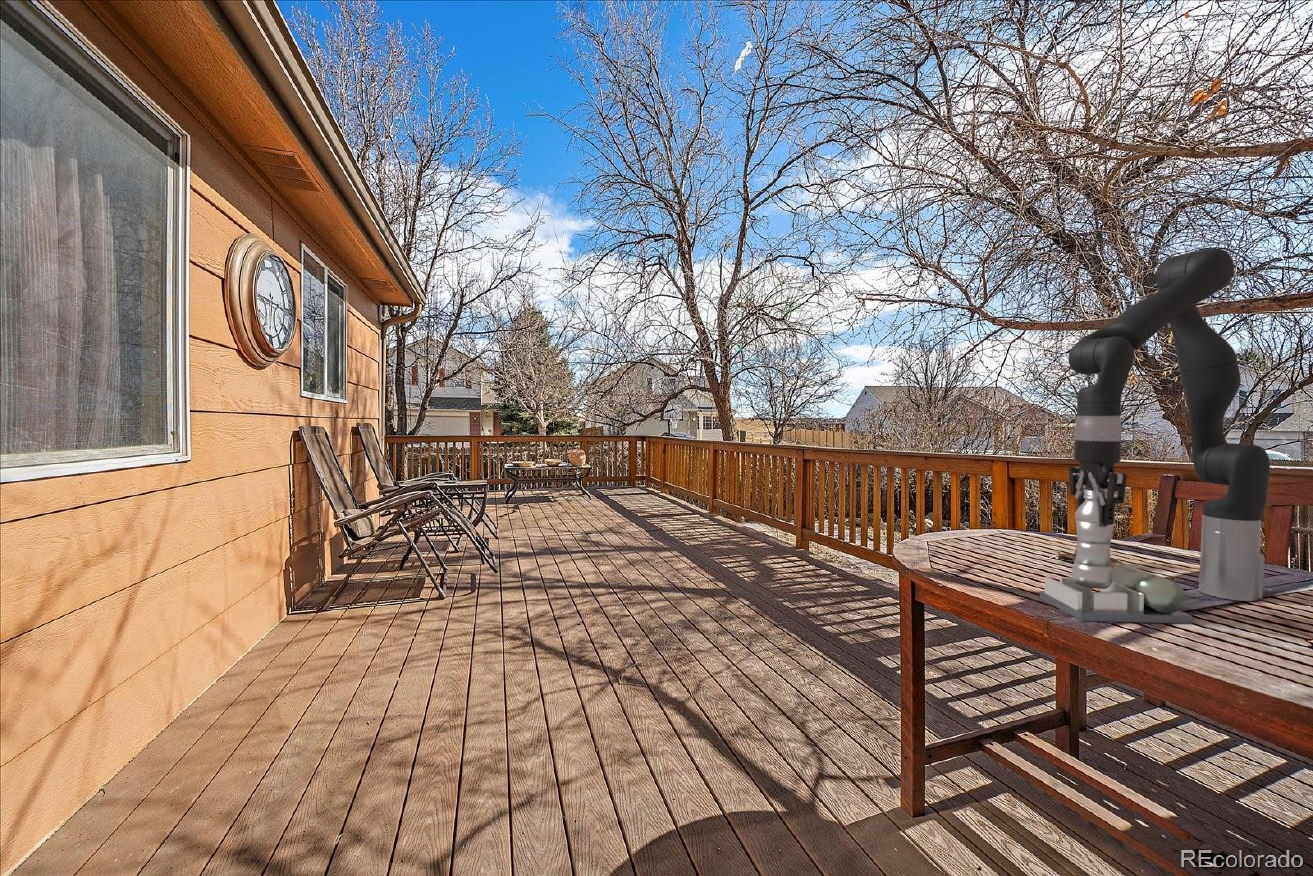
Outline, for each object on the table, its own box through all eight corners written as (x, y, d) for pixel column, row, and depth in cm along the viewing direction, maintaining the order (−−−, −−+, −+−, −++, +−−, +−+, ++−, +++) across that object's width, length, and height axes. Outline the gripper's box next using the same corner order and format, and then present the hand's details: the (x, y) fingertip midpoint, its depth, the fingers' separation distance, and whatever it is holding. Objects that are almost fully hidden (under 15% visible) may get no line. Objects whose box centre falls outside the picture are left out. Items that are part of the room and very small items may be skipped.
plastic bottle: (1072, 581, 125) (1076, 486, 124) (1113, 587, 120) (1117, 489, 119) (1070, 588, 120) (1073, 490, 119) (1112, 594, 115) (1115, 493, 114)
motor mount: (1137, 600, 126) (1139, 563, 126) (1191, 623, 112) (1193, 582, 112) (1039, 597, 128) (1040, 561, 127) (1081, 621, 114) (1082, 580, 113)
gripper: (1144, 440, 111) (1140, 528, 112) (1093, 436, 125) (1090, 515, 126) (1101, 440, 112) (1098, 528, 112) (1056, 436, 126) (1053, 514, 127)
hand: (1094, 520), depth 119 cm, fingers closed on plastic bottle, 6 cm apart
